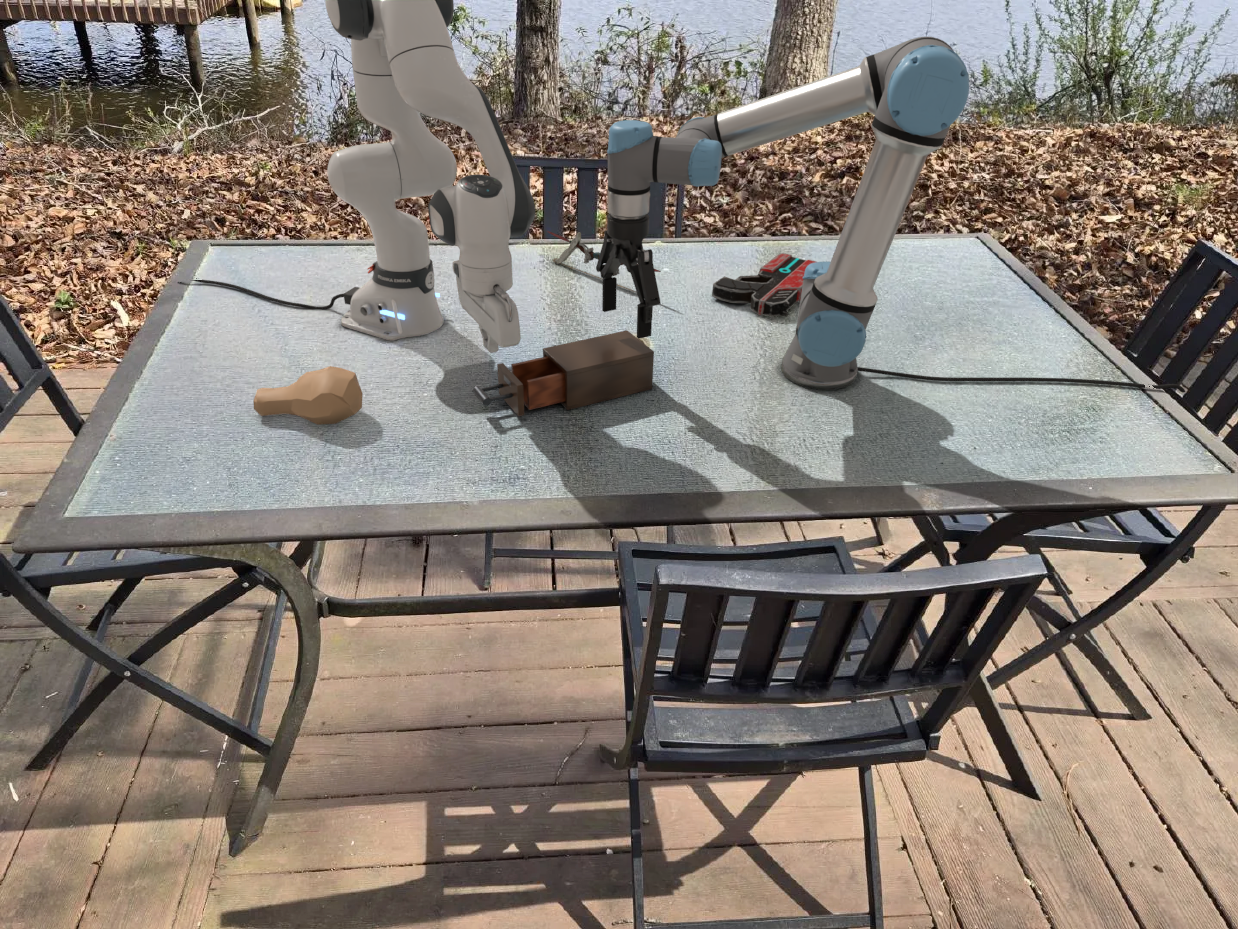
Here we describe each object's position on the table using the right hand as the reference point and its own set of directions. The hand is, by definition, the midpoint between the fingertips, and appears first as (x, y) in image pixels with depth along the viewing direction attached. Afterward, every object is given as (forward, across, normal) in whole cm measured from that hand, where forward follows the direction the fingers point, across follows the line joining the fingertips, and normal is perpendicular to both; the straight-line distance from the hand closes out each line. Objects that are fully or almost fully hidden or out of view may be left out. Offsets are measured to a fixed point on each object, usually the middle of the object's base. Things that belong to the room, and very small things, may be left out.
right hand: (626, 323), depth 168 cm
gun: (+13, +25, -55) cm, 62 cm away
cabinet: (+13, 0, +6) cm, 14 cm away
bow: (+13, +49, -21) cm, 55 cm away
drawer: (+12, 0, +19) cm, 22 cm away
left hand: (-1, 0, +28) cm, 28 cm away
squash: (+12, +14, +58) cm, 61 cm away
